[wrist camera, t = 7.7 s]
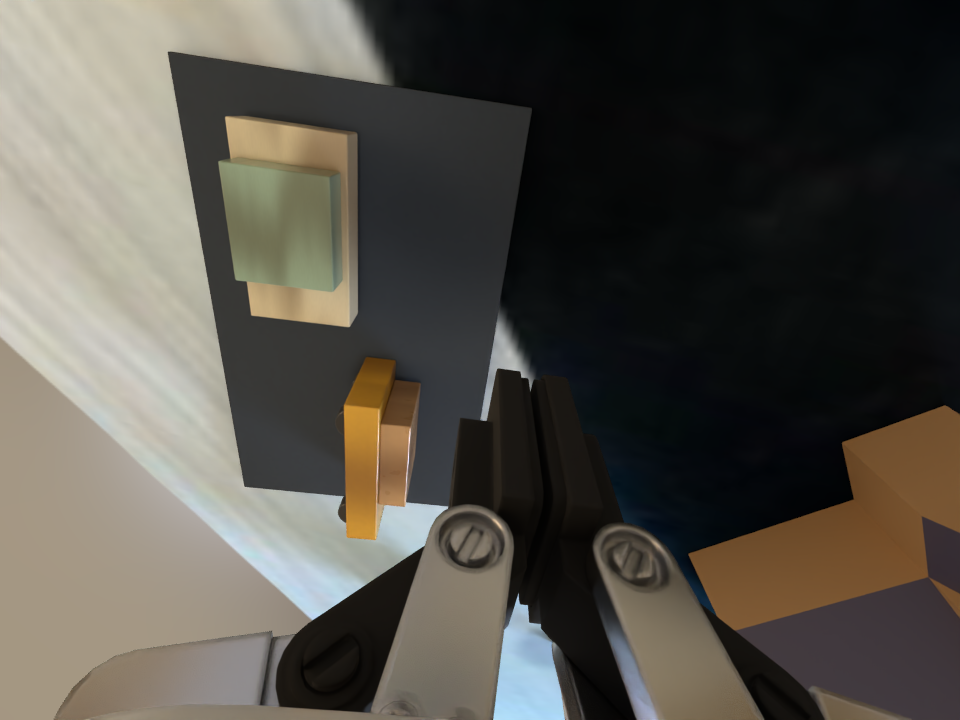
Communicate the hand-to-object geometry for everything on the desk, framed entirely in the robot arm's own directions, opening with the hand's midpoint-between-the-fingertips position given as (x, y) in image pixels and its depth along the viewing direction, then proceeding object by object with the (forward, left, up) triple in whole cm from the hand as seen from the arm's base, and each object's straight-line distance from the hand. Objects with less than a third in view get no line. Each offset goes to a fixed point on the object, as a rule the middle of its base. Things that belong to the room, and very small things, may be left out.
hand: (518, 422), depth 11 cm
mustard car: (+12, -6, -14) cm, 20 cm away
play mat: (+6, -8, -15) cm, 18 cm away
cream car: (0, -7, -12) cm, 14 cm away
